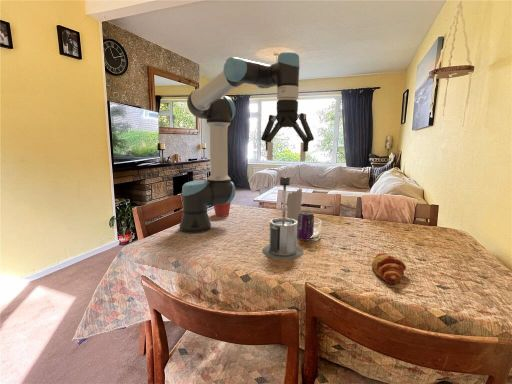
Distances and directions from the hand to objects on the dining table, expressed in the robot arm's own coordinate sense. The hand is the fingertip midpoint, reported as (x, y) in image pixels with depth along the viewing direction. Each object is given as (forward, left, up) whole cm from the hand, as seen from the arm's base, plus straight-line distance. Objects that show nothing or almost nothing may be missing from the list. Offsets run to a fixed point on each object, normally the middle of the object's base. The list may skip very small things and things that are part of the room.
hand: (285, 160), depth 103 cm
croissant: (+37, +6, -37) cm, 52 cm away
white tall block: (-17, +37, -36) cm, 55 cm away
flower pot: (-57, +30, -36) cm, 74 cm away
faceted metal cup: (0, 0, -35) cm, 35 cm away
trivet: (0, 0, -36) cm, 36 cm away
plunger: (0, 0, -25) cm, 25 cm away
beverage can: (0, +21, -36) cm, 42 cm away
